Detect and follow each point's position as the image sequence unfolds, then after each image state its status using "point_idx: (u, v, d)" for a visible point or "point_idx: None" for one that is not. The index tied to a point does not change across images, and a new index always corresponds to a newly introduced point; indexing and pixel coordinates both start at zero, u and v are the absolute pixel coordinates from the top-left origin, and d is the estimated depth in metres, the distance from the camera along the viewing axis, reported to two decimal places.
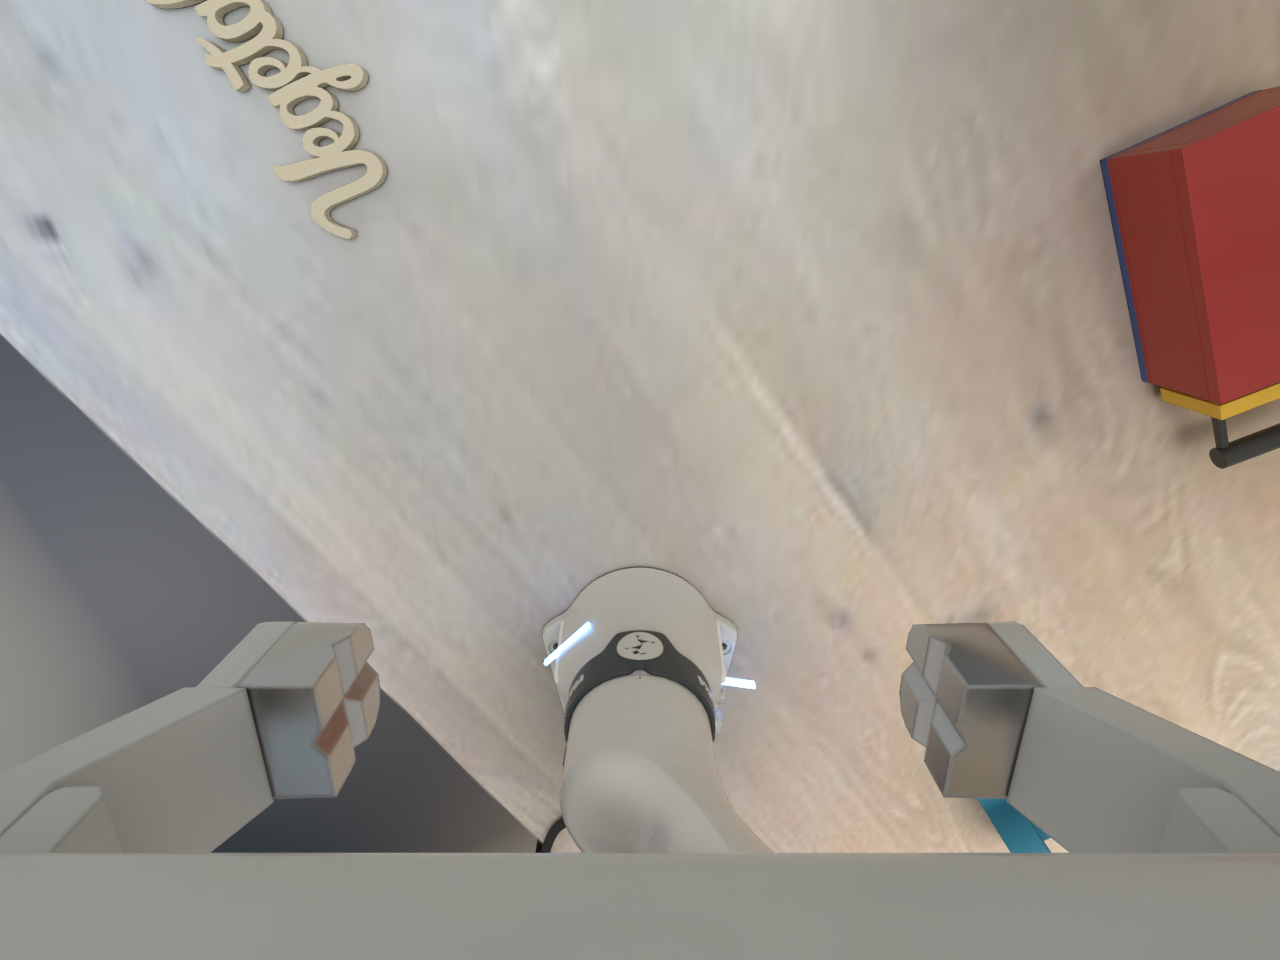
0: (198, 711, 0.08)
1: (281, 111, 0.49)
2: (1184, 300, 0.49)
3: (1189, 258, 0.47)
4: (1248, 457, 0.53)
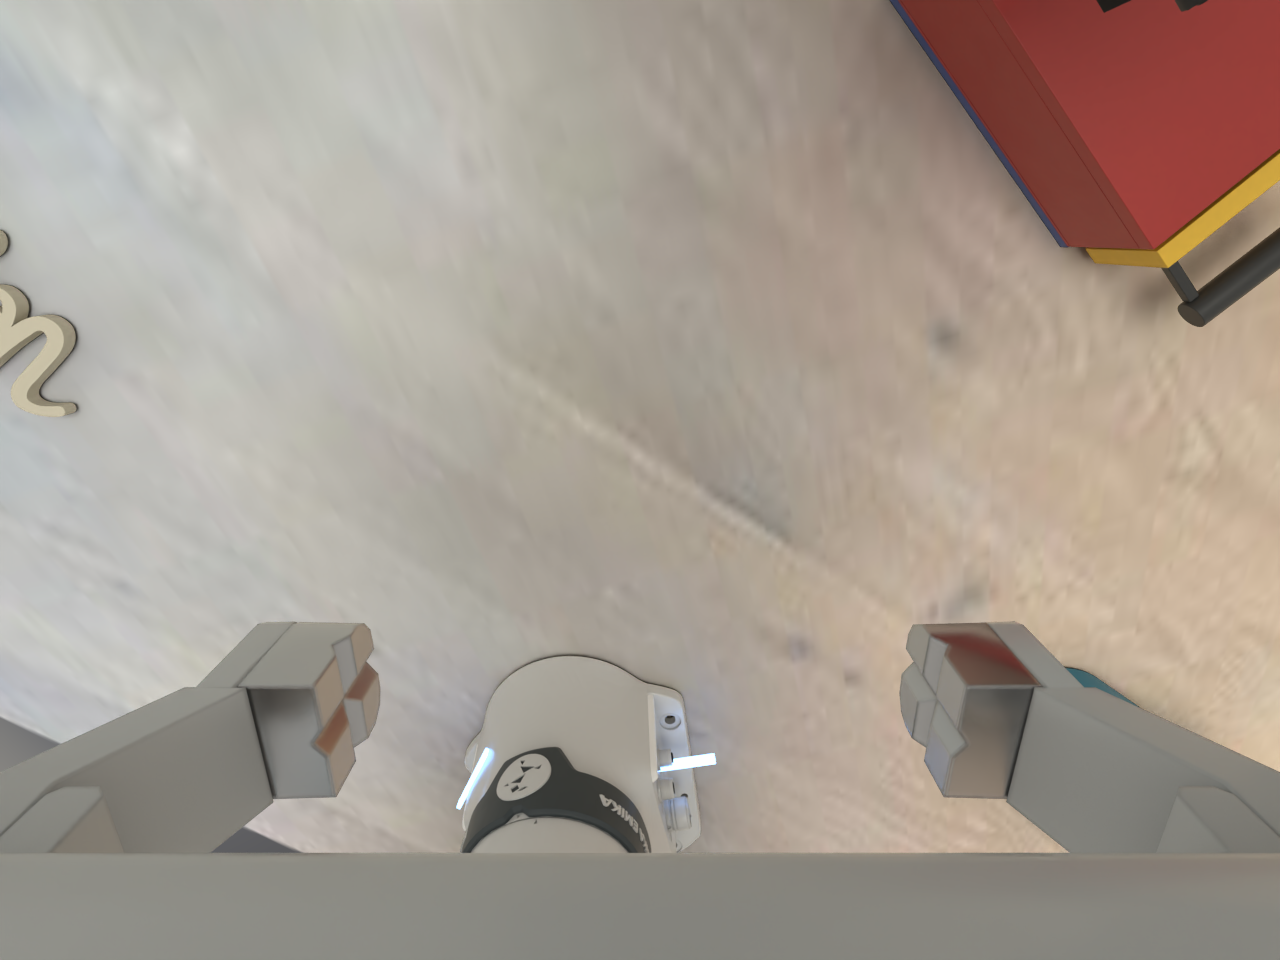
0: (198, 711, 0.08)
1: None
2: (1050, 130, 0.35)
3: (1028, 74, 0.33)
4: (1232, 301, 0.38)
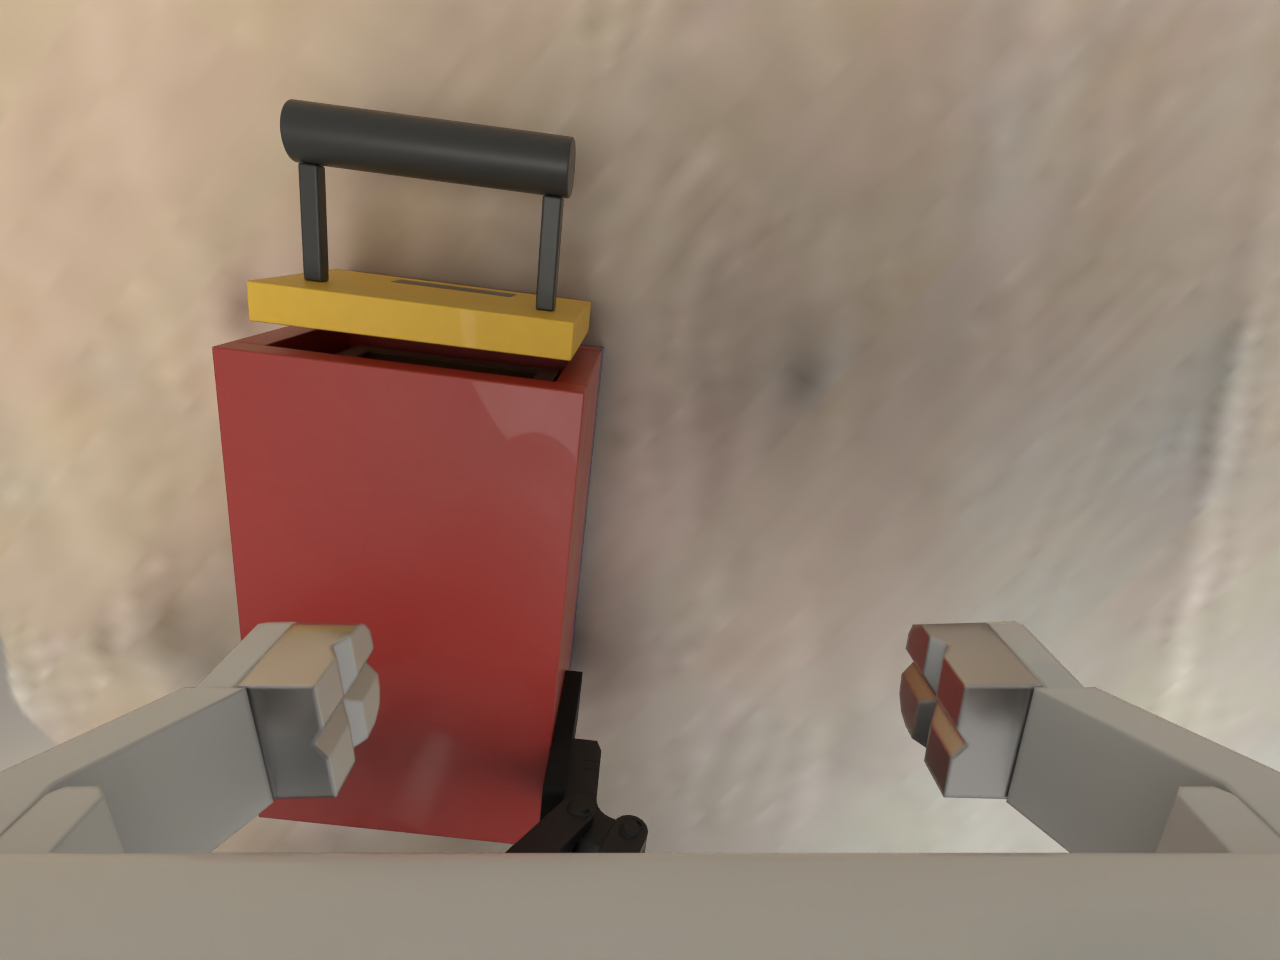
0: (198, 711, 0.08)
1: None
2: (569, 589, 0.25)
3: (558, 680, 0.25)
4: (512, 145, 0.20)
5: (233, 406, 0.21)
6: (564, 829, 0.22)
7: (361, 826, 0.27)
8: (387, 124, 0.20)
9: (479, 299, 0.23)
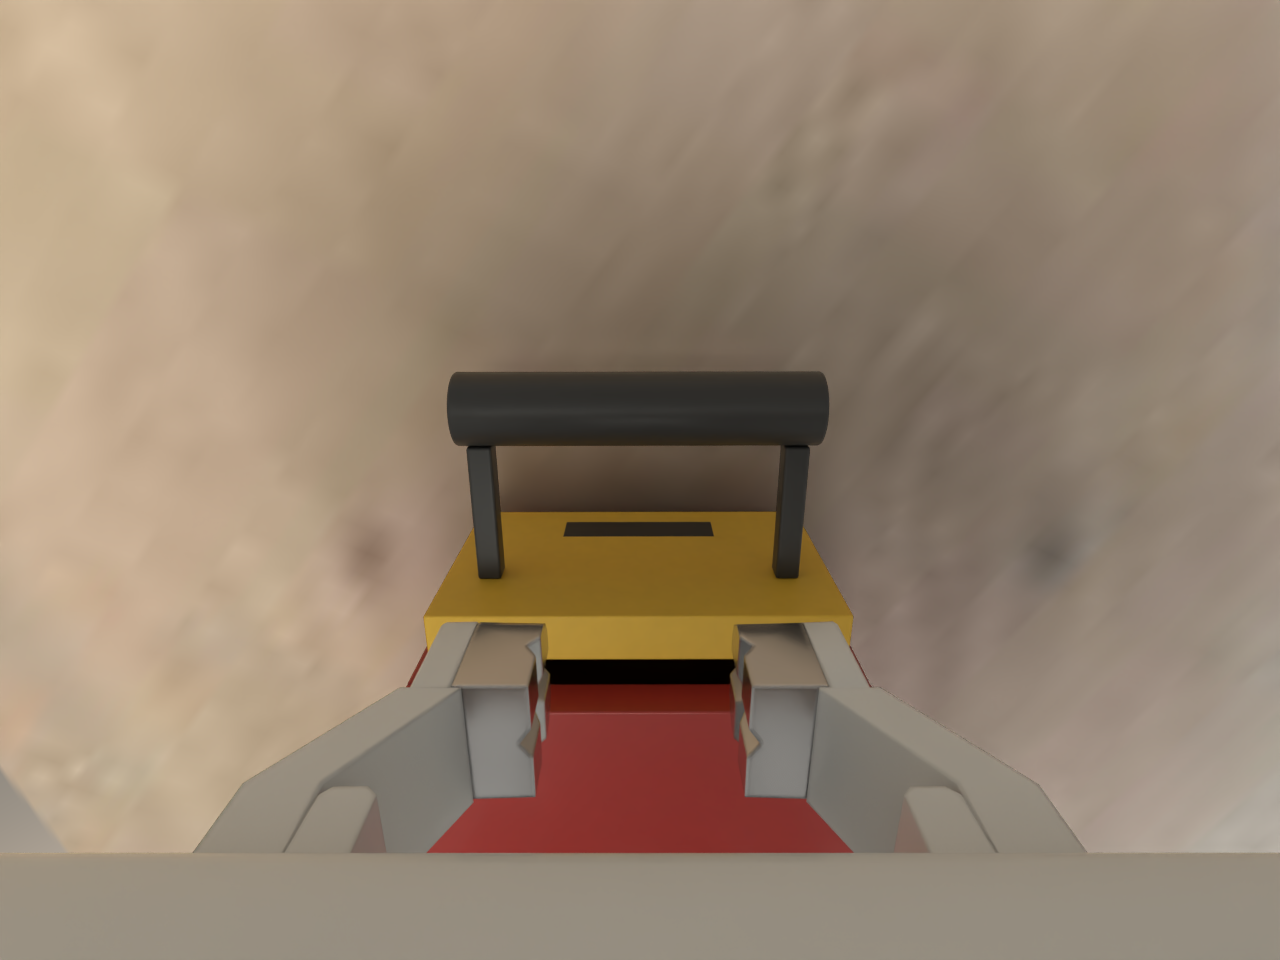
0: (424, 711, 0.08)
1: None
2: None
3: None
4: (753, 401, 0.15)
5: None
6: None
7: None
8: (586, 396, 0.15)
9: (693, 564, 0.18)
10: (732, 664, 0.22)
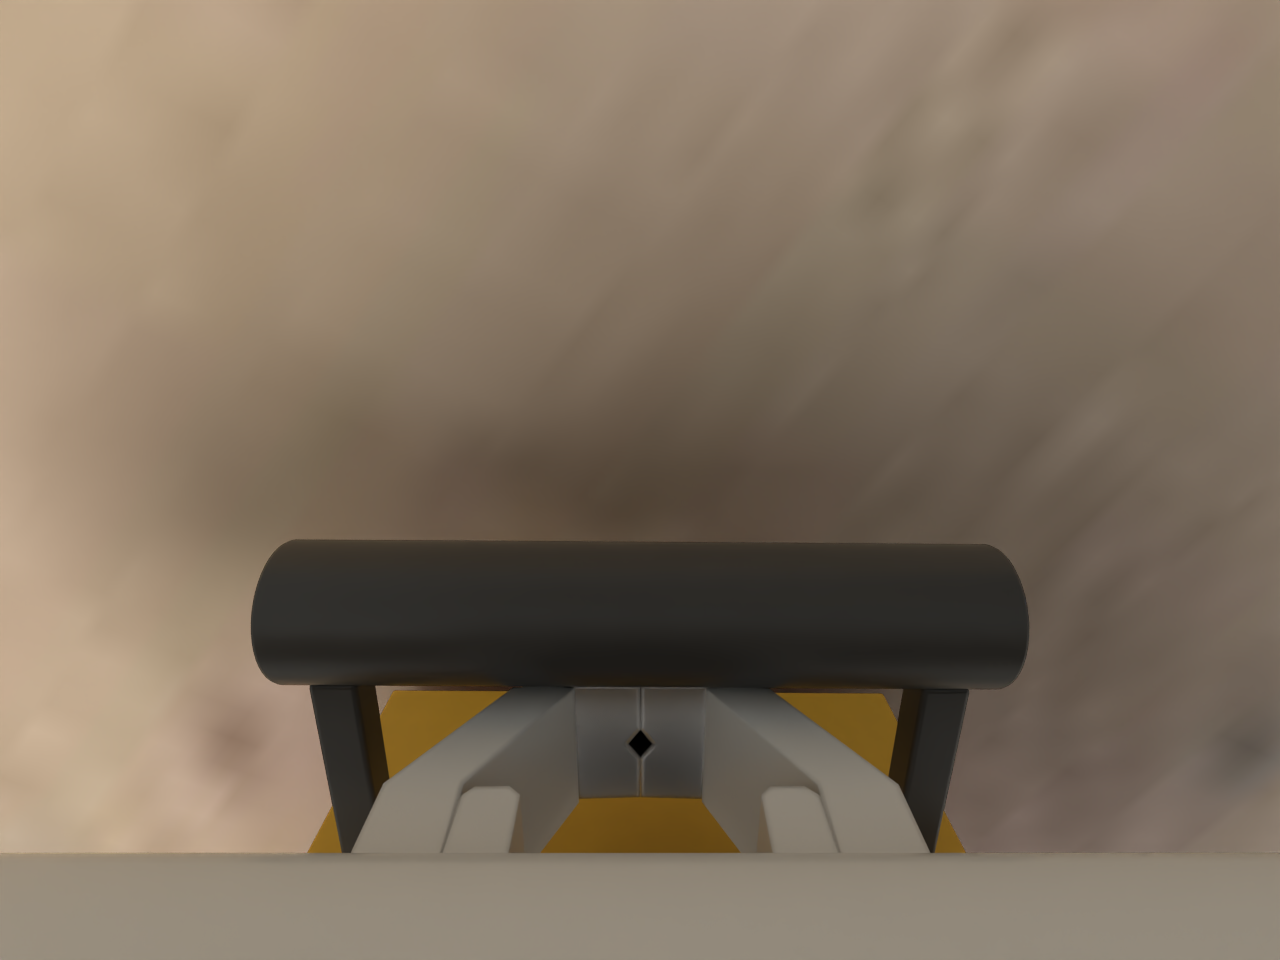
0: (543, 711, 0.08)
1: None
2: None
3: None
4: (876, 623, 0.07)
5: None
6: None
7: None
8: (535, 609, 0.07)
9: (734, 845, 0.10)
10: None
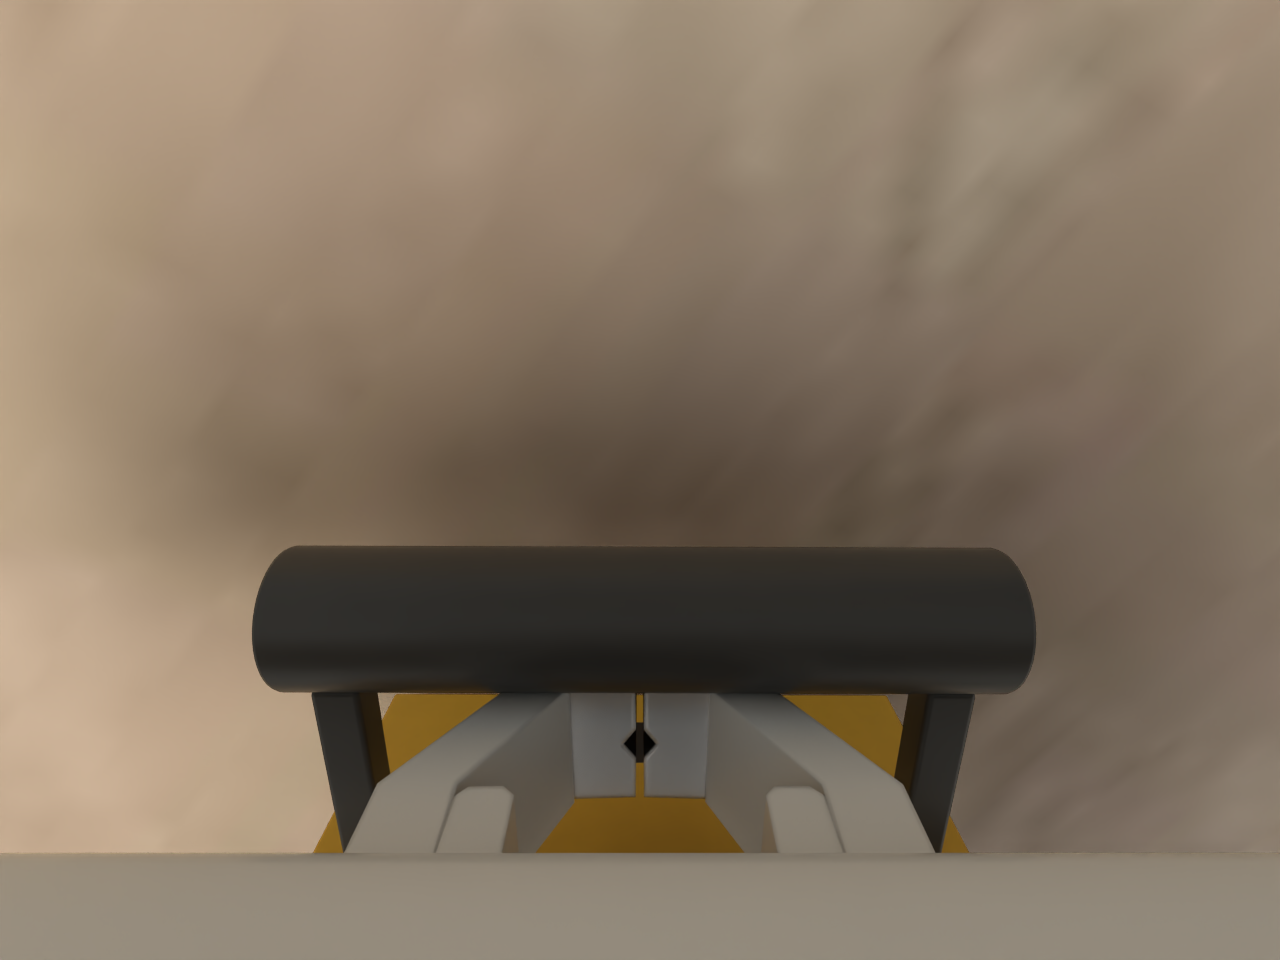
0: (538, 711, 0.08)
1: None
2: None
3: None
4: (881, 628, 0.07)
5: None
6: None
7: None
8: (538, 615, 0.07)
9: (738, 850, 0.10)
10: None
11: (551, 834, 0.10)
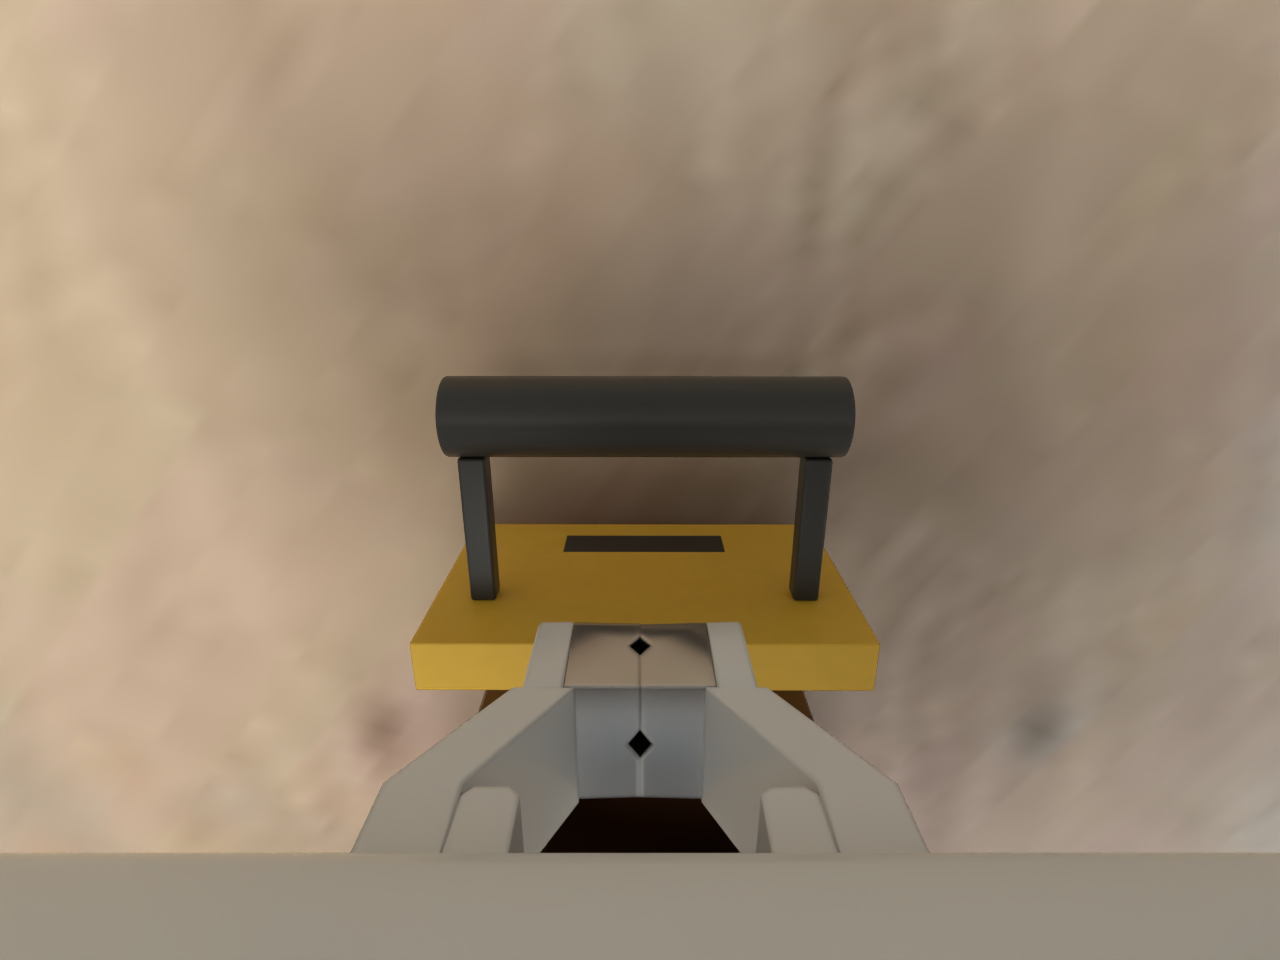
0: (542, 711, 0.08)
1: None
2: None
3: None
4: (772, 409, 0.14)
5: None
6: None
7: None
8: (588, 403, 0.14)
9: (703, 584, 0.17)
10: None
11: (588, 578, 0.17)
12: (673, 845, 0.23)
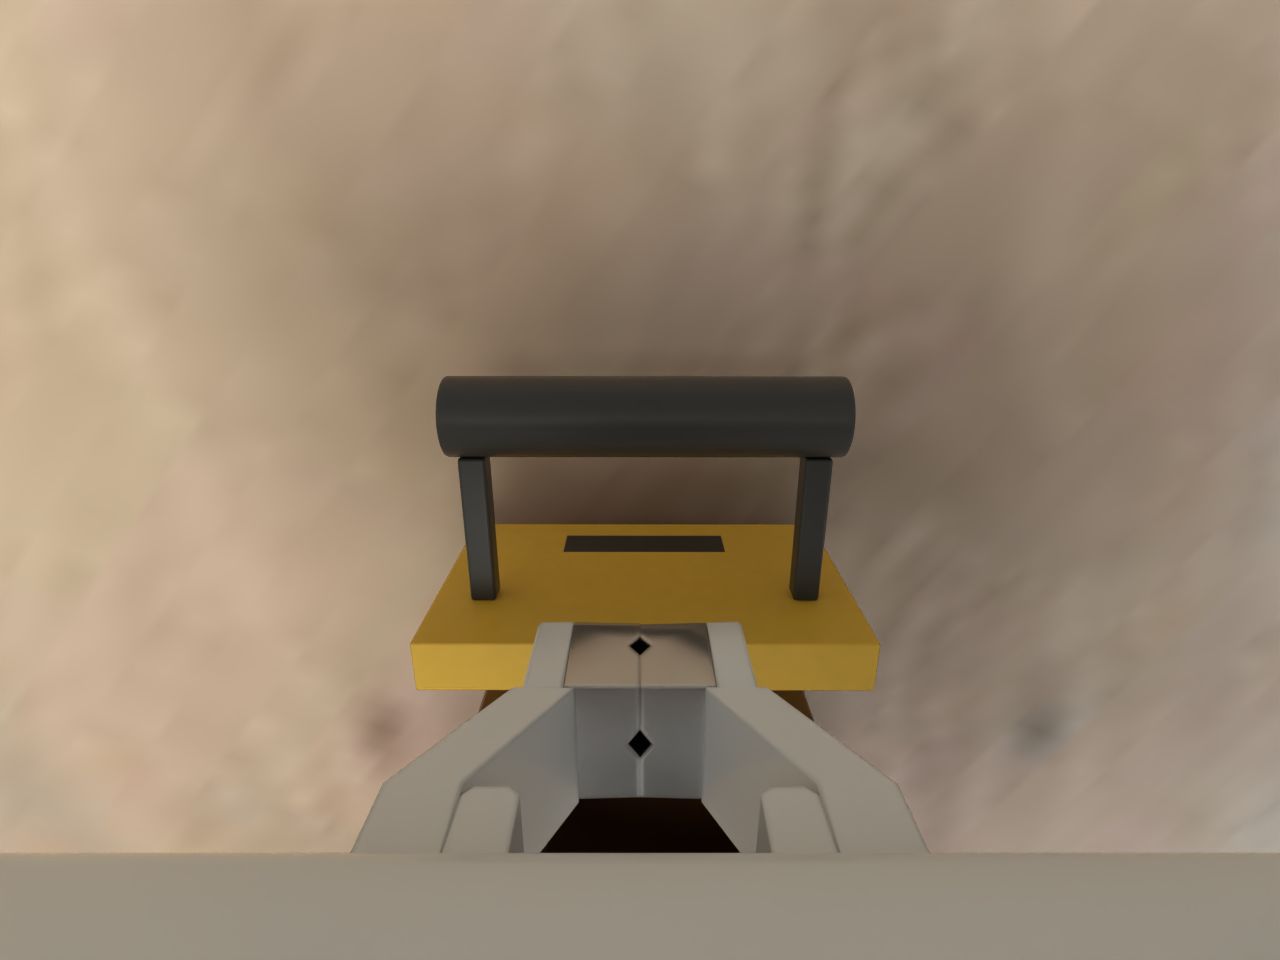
0: (542, 711, 0.08)
1: None
2: None
3: None
4: (772, 409, 0.14)
5: None
6: None
7: None
8: (588, 403, 0.14)
9: (704, 584, 0.17)
10: None
11: (588, 578, 0.17)
12: (673, 845, 0.23)
